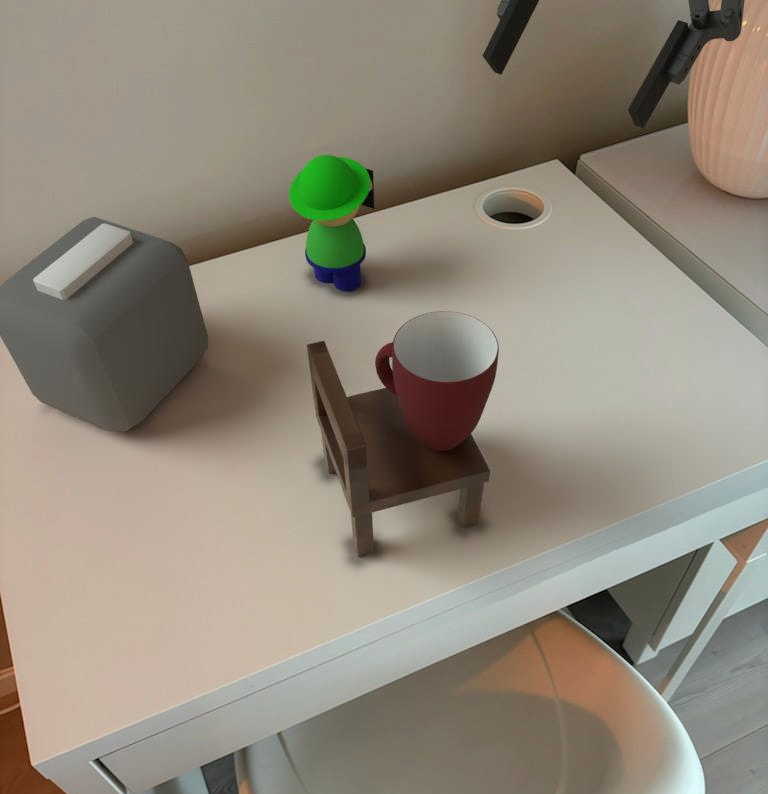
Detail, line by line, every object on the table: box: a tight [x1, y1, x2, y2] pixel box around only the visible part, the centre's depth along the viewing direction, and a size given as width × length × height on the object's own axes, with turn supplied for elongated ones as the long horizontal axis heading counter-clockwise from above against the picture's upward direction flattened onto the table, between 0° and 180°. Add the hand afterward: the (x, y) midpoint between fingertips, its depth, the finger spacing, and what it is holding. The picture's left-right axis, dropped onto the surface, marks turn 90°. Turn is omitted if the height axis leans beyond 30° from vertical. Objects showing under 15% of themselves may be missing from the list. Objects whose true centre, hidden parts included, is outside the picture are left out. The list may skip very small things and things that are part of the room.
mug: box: [374, 310, 500, 451], centre depth 61 cm, size 10×8×10 cm
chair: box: [306, 340, 491, 558], centre depth 65 cm, size 12×12×15 cm
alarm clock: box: [0, 216, 209, 432], centre depth 74 cm, size 16×11×16 cm
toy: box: [288, 154, 375, 292], centre depth 84 cm, size 9×9×15 cm
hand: (560, 91), depth 59 cm, fingers open, 13 cm apart
